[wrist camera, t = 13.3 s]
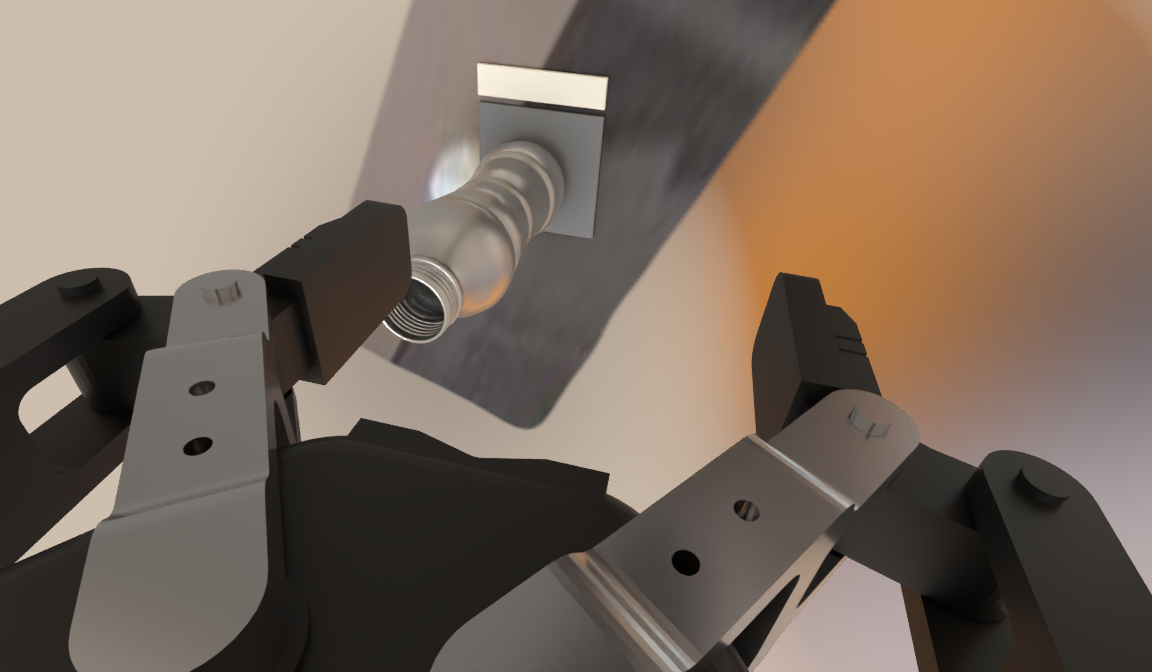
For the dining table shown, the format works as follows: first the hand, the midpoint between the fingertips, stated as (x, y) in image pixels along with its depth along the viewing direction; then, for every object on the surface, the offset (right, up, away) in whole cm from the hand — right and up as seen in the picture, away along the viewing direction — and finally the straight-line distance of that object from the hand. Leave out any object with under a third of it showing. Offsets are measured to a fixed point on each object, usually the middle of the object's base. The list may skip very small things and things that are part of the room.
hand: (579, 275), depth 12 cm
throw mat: (-3, +12, +29) cm, 32 cm away
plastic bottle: (-3, +11, +30) cm, 32 cm away
